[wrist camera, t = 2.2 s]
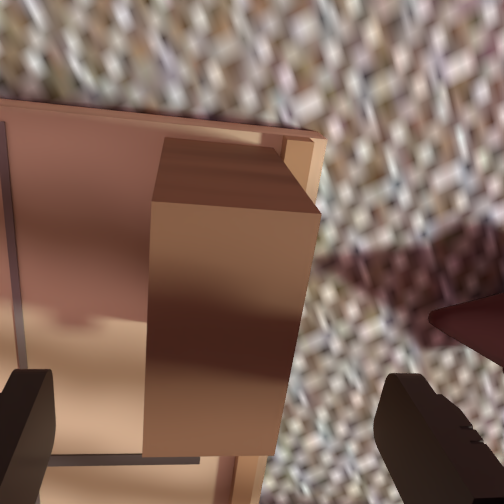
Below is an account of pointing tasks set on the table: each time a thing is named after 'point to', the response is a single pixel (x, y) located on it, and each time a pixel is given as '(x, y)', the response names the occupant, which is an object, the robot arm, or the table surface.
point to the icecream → (475, 325)
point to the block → (223, 298)
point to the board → (104, 291)
